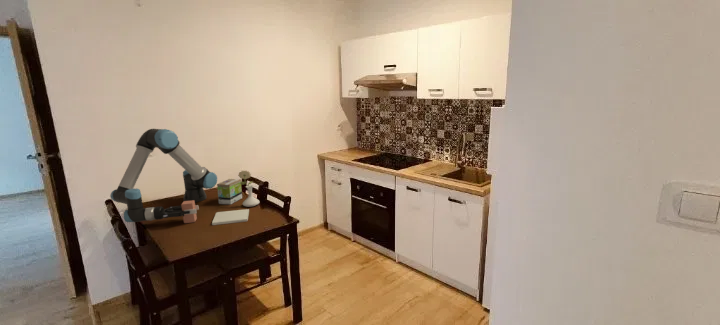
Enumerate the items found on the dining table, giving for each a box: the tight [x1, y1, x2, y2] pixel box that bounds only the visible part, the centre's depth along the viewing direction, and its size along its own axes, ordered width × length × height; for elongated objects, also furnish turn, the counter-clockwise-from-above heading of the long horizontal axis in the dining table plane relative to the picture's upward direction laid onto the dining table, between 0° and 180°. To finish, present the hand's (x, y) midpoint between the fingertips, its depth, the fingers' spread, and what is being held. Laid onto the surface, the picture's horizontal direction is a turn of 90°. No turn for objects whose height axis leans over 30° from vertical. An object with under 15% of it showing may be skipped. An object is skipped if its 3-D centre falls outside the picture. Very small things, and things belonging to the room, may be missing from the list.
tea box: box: [216, 178, 243, 205], centre depth 238 cm, size 15×10×15 cm, turn 168°
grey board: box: [211, 208, 250, 226], centre depth 208 cm, size 18×20×2 cm
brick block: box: [180, 200, 198, 224], centre depth 203 cm, size 6×6×12 cm
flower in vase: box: [238, 170, 260, 208], centre depth 228 cm, size 13×11×25 cm
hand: (197, 209), depth 203 cm, fingers closed on brick block, 6 cm apart
